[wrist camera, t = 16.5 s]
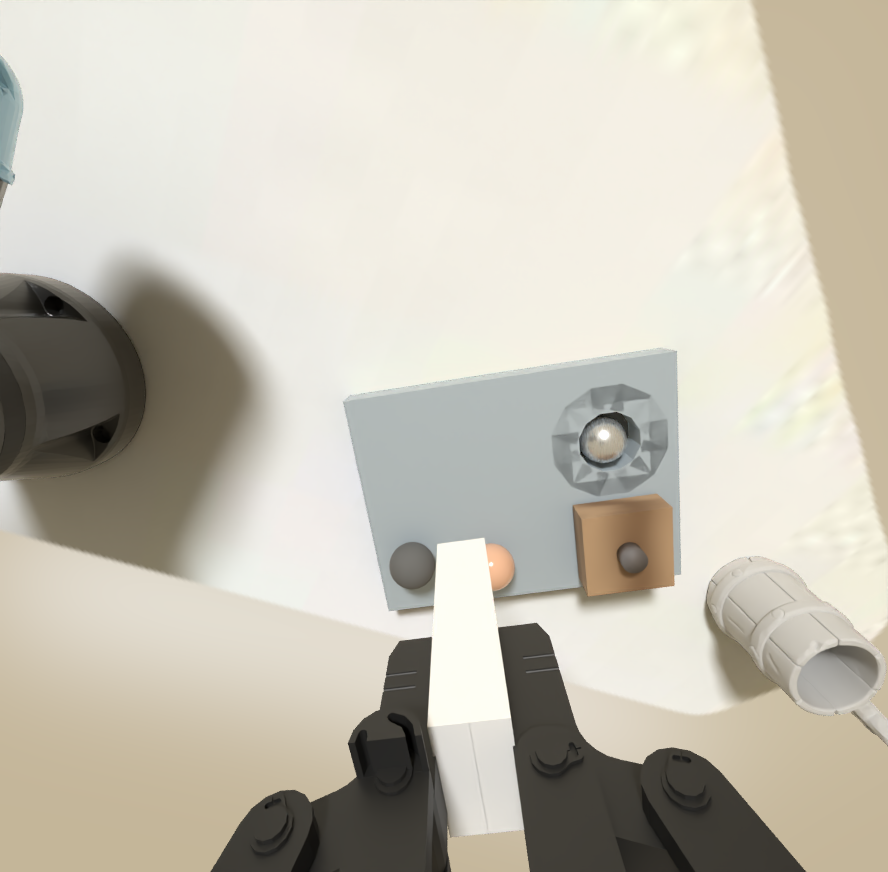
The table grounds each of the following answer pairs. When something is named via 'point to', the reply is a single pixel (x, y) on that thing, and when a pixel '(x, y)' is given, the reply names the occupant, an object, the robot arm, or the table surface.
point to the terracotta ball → (499, 566)
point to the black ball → (412, 565)
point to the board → (512, 462)
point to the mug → (799, 640)
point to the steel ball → (603, 440)
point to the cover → (624, 544)
